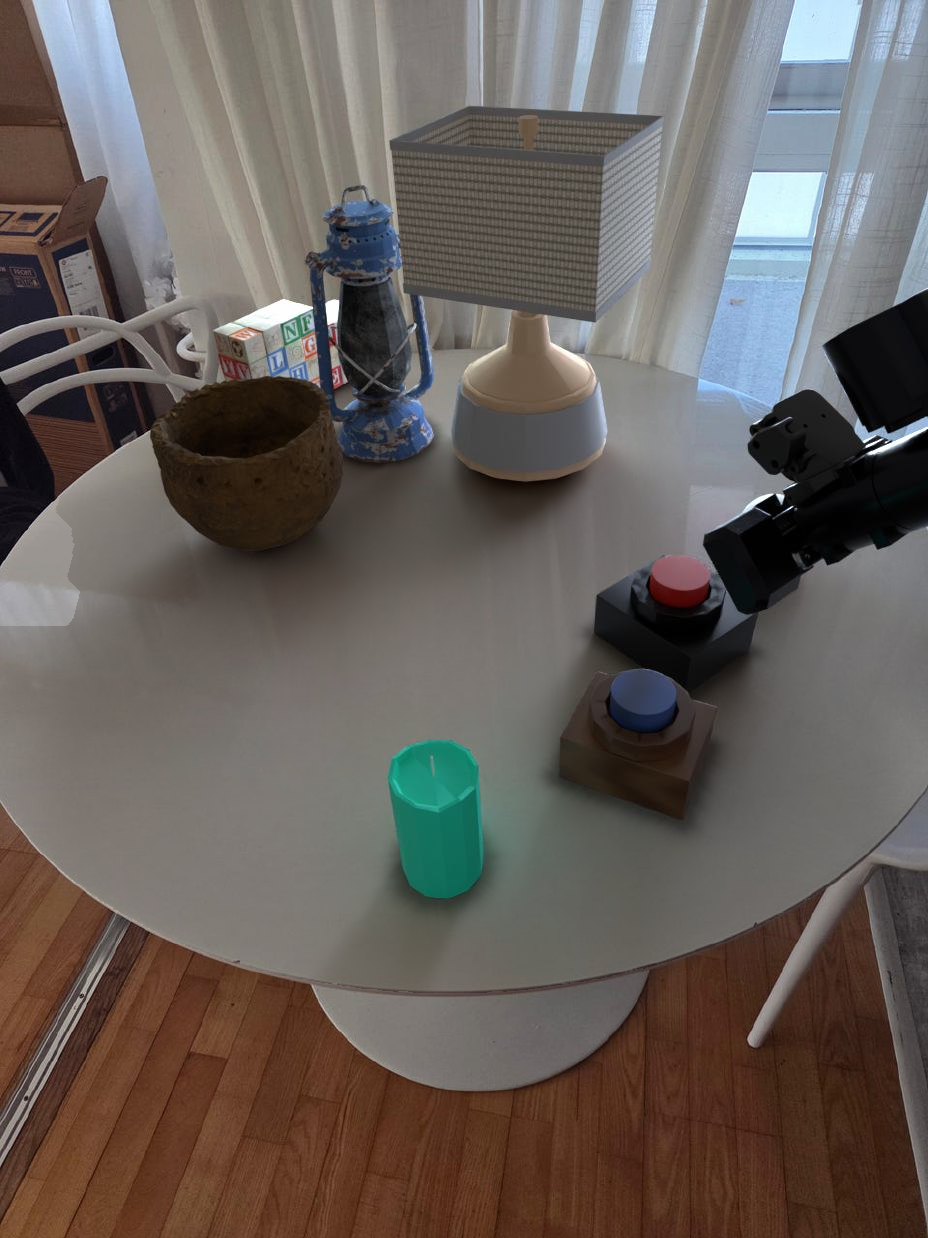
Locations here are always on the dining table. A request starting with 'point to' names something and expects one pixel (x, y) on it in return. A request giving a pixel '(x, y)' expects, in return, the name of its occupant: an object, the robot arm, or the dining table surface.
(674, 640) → the switch box
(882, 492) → the robot arm
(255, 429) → the bowl
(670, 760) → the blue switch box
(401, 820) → the candle
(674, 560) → the light button
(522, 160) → the desk lamp
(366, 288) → the lantern
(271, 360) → the stack of blocks
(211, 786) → the dining table surface
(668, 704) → the blue button
